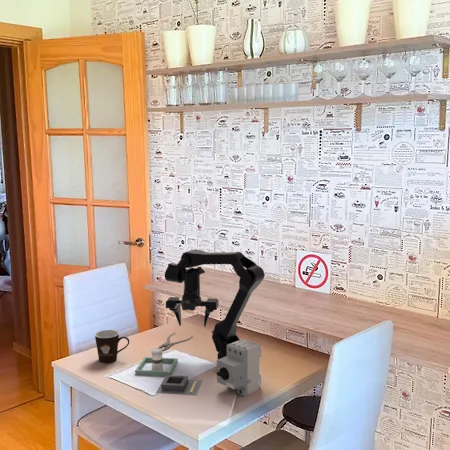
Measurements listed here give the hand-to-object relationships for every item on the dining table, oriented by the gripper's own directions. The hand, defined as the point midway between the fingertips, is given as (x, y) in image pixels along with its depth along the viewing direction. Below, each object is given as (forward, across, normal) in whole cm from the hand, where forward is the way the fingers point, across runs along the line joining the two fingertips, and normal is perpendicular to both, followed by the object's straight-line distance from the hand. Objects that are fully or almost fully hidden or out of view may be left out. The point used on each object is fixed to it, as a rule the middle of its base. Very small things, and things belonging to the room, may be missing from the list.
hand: (192, 326), depth 210 cm
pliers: (+13, -10, +14) cm, 21 cm away
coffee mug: (+12, -29, -7) cm, 32 cm away
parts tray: (+12, -10, -14) cm, 21 cm away
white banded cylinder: (+11, -10, -14) cm, 21 cm away
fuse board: (+12, +1, -27) cm, 30 cm away
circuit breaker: (+12, +20, -26) cm, 35 cm away
